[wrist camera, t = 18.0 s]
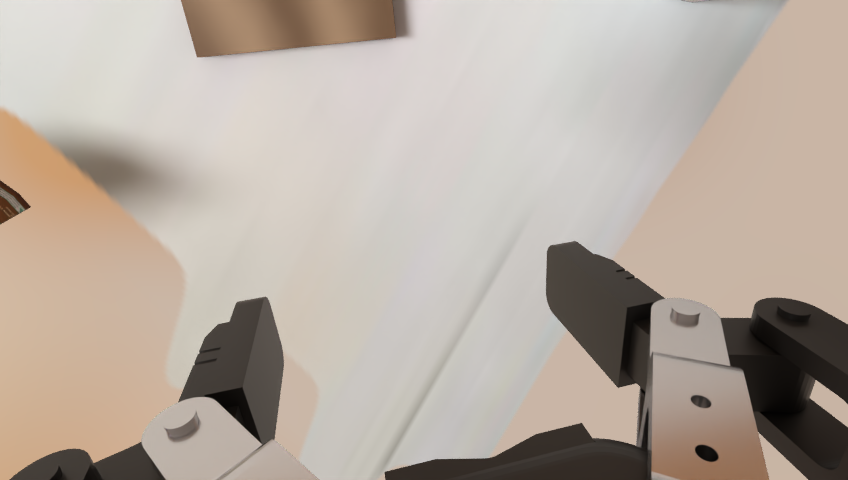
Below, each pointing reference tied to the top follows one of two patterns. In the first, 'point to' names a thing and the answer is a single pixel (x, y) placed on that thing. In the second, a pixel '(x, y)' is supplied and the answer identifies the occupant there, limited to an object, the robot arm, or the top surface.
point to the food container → (10, 203)
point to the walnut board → (284, 24)
